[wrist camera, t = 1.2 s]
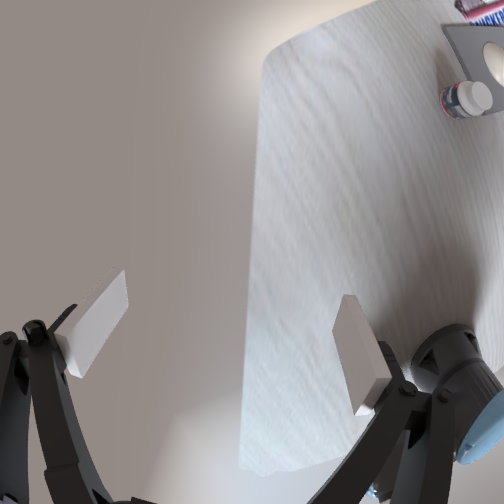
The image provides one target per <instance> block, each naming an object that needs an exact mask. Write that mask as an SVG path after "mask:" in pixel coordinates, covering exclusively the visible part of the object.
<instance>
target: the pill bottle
mask: <svg viewBox="0 0 504 504" xmlns="http://www.w3.org/2000/svg"><path fill="white" fill-rule="evenodd" d="M440 103H441V106H442V109H443V110H444V112H445V113H446V114H447V115H448V116H449V117H451V118H453V119H464V118H470V117H475V116H479V115H481V114H482V113H483V112H484V111H485V110H488V109H490V108H491V107H492V103H493V99H492V95H491V92H490V90H489V89H488V87H487V86H486V85H485V84H483V83H482V82H474V83H473V82H471V81H462V82H460V83H458V84H455V85H453V86H450V87H448V88H445V89H444V90H443V91H442V92H441V94H440Z"/></svg>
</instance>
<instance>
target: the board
mask: <svg viewBox="0 0 504 504" xmlns="http://www.w3.org/2000/svg"><path fill="white" fill-rule="evenodd" d="M442 30H443V32H444V34H445V35H446V37H447V39H448V41H449V42H450V44H451V46H452V48H453V50H454V52H455V54H456V55H457V57H458V59H459V61H460V63H461V65H462V68H463V70H464V72H465V74H466V76H467V78H468V81H471V82H473V83H474V82H482V83H483V84H485V85H486V86H487V87H488V89H489V90H490V92H491V95H492V99H493V103H492V107H491V108H490V109H488V110H485V111H484V112H483V113H482V115H487V114H491V113H494V112H498V111H502V110H504V27H490V26H454V27H444V28H443V29H442Z"/></svg>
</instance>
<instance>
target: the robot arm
mask: <svg viewBox="0 0 504 504" xmlns="http://www.w3.org/2000/svg"><path fill="white" fill-rule="evenodd" d="M128 307H129V305H128V298H127V290H126V282H125V274H124V269H122V268H115V267H113V268H112V269H111V270H110V271H109V272H108V273H107V274H106V275H105V276H104V277H103V278H102V280H100V282H99V283H98V284H97V285H96V286H95V287H94V288H93V289H92V290H91V291H90V292H89V293H88V294H87V296H86V297H85V298H84V299H83V300H82V301H81V302H80V303H79V304H78V305H77V304H73V305H71V306H70V307H68V308H67V309H66V310H65V311H64V312H63V313H62V315H60V316H59V317H58V319H57V320H56V321H55V322H54V323H53V324H52V325H51V326H50V328H49V329H48V330H47V329H46V326H45V324H44V322H43V321H41V320H32V321H29V322H28V323H26V324H25V325H24V326H23V328H22V332H23V334H24V337H25V339H26V340H18V337H17V335H16V333H14V332H11V331H9V332H5V333H3V334H2V335H0V504H29V485H28V428H29V414H30V404H31V395H32V400H33V407H34V413H35V419H36V424H37V429H38V434H39V438H40V442H41V447H42V451H43V454H44V458H45V462H46V465H47V469H46V470H45V471H44V476H45V480H46V483H47V486H48V489H49V492H50V495H51V497H52V500H53V503H54V504H156V503H152V502H148V501H145V500H141V499H137V498H135V497H132V498H131V501H117V502H114V501H113V500H112V498H111V496H110V495H109V493H108V492H107V490H106V489H105V488H104V486H103V484H102V482H101V479H100V477H99V475H98V473H97V470H96V469H95V466H94V463H93V461H92V459H91V456H90V454H89V451H88V449H87V446H86V443H85V440H84V438H83V435H82V432H81V429H80V426H79V423H78V420H77V417H76V413H75V410H74V406H73V403H72V399H71V396H70V392H69V388H68V384H67V380H66V375H65V373H64V370H65V368H66V367H68V370H69V372H70V374H71V375H74V376H77V377H80V378H83V376H84V375H85V373H86V371H87V370H88V368H89V367H90V365H91V363H92V362H93V360H94V359H95V357H96V355H97V353H98V352H99V351H100V349H101V347H102V346H103V344H104V343H105V341H106V340H107V338H108V336H109V335H110V333H111V332H112V330H113V329H114V327H115V326H116V324H117V323H118V321H119V320H120V319H121V317H122V316H123V314H124V313H125V311H126V310H127V308H128ZM332 332H333V336H334V339H335V343H336V346H337V350H338V354H339V357H340V361H341V365H342V368H343V372H344V376H345V380H346V384H347V388H348V392H349V396H350V400H351V404H352V408H353V412H354V416H358V415H369V413H370V412H371V411H372V409H373V408H374V411H375V415H374V417H373V418H372V420H371V421H370V422H369V424H368V425H367V428H366V429H365V431H364V432H363V434H362V435H361V436H360V438H359V439H358V441H357V442H356V444H355V445H354V446H353V448H352V449H351V451H350V452H349V453H348V455H347V456H346V457H345V459H344V460H343V461H342V463H341V464H340V465H339V467H338V468H337V469H336V470H335V471H334V473H333V474H332V475H331V476H330V478H329V479H328V480H327V481H326V482H325V484H324V485H323V486H322V487H321V488H320V489H319V490H318V492H317V493H316V494H315V495H314V496H313V497H312V498H311V499H310V501H309V502H308V503H307V504H359V502H360V501H361V499H362V498H363V497H364V495H365V494H366V495H367V496H368V497H370V498H379V503H380V504H447V503H448V497H449V491H450V484H451V476H452V466H453V462H455V461H456V460H457V462H459V463H460V464H462V465H466V464H469V463H471V462H472V461H476V460H477V459H479V458H480V457H482V456H483V455H485V454H486V453H487V452H488V451H490V450H491V449H492V448H493V447H494V446H495V445H496V444H497V443H498V442H499V441H500V440H501V438H502V437H503V436H504V388H503V386H502V385H501V384H500V382H499V381H498V379H497V378H496V377H495V375H494V374H493V373H492V371H491V370H490V369H489V367H488V366H487V365H486V363H485V362H484V361H483V359H482V355H481V351H480V348H479V344H478V341H477V338H476V336H475V335H474V333H473V332H472V331H471V330H470V329H469V328H468V327H467V326H465V325H461V324H455V325H450V326H447V327H444V328H442V329H440V330H439V331H437V332H435V333H434V334H433V335H431V336H430V337H429V338H428V339H427V340H426V341H425V342H424V343H423V344H422V345H421V347H420V348H419V349H418V351H417V352H416V354H415V356H414V358H413V361H412V364H411V375H412V378H413V380H414V382H415V384H416V385H417V387H418V388H419V389H421V390H422V391H423V392H420V391H418V389H417V387H416V386H415V385H414V384H413V383H411V382H409V381H406V380H405V377H404V375H403V373H402V371H401V368H400V366H399V364H398V362H397V360H396V358H395V356H394V353H393V351H392V349H391V347H390V346H389V345H388V344H387V343H386V342H385V341H376V338H375V336H374V334H373V332H372V330H371V327H370V325H369V323H368V321H367V319H366V317H365V314H364V312H363V310H362V308H361V306H360V304H359V302H358V300H357V298H356V296H355V295H345V294H344V295H343V298H342V301H341V305H340V308H339V311H338V314H337V318H336V321H335V324H334V327H333V330H332Z"/></svg>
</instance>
